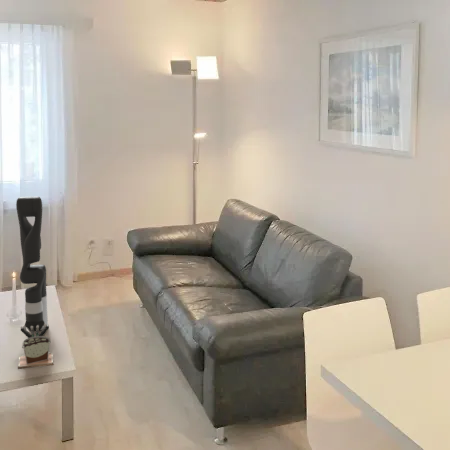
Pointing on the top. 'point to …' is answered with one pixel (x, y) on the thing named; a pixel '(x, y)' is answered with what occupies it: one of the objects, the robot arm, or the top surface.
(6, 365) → the top surface
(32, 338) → the food container
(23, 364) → the picture board
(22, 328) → the robot arm
